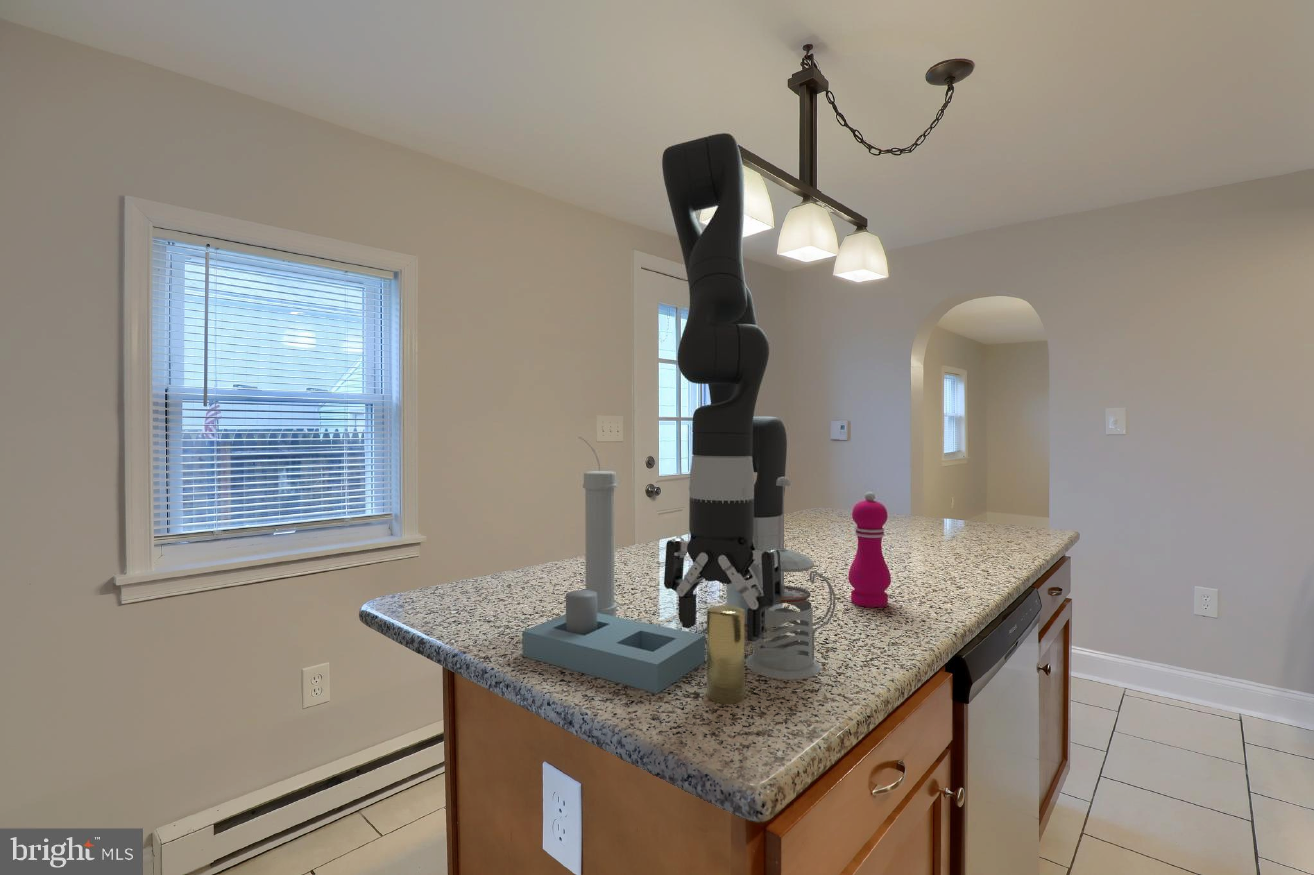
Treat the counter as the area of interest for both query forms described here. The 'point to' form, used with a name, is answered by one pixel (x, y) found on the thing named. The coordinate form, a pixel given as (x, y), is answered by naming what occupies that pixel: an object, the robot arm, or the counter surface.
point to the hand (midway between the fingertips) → (720, 632)
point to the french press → (783, 651)
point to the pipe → (600, 536)
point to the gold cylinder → (725, 654)
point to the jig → (614, 646)
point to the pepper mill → (869, 555)
